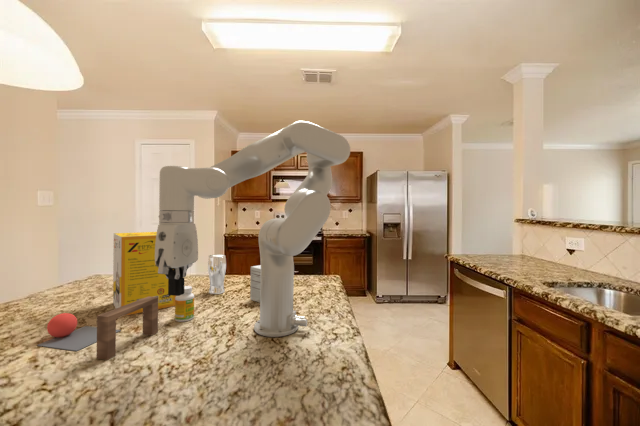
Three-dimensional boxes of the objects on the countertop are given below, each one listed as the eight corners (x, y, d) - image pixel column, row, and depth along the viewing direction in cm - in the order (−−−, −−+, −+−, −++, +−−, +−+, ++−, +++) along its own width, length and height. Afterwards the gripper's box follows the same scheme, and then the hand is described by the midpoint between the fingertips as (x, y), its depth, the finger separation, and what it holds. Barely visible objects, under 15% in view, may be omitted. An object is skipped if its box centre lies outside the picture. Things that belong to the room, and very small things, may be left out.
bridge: (157, 332, 80) (158, 297, 80) (107, 359, 65) (107, 316, 65) (148, 331, 80) (148, 296, 80) (96, 358, 66) (96, 315, 66)
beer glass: (208, 290, 121) (208, 254, 121) (225, 289, 123) (226, 254, 123) (207, 295, 114) (207, 257, 114) (225, 294, 116) (226, 256, 116)
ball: (76, 336, 79) (86, 319, 79) (52, 346, 73) (63, 328, 73) (62, 322, 80) (72, 305, 80) (37, 331, 74) (47, 312, 74)
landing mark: (120, 330, 81) (120, 330, 81) (76, 351, 69) (76, 350, 69) (85, 326, 83) (85, 325, 83) (36, 345, 71) (37, 344, 71)
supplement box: (264, 295, 116) (265, 263, 115) (277, 299, 111) (277, 266, 111) (249, 299, 110) (249, 266, 110) (262, 304, 105) (262, 269, 105)
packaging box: (113, 303, 103) (113, 233, 103) (163, 295, 114) (164, 231, 113) (119, 316, 91) (120, 236, 91) (175, 305, 102) (176, 234, 101)
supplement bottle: (186, 322, 87) (187, 290, 87) (170, 321, 88) (171, 289, 88) (197, 316, 92) (198, 285, 92) (182, 314, 93) (182, 284, 93)
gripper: (168, 219, 62) (167, 305, 62) (209, 217, 76) (208, 287, 77) (138, 218, 63) (137, 302, 63) (183, 217, 78) (183, 285, 78)
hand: (176, 294), depth 70 cm, fingers closed
